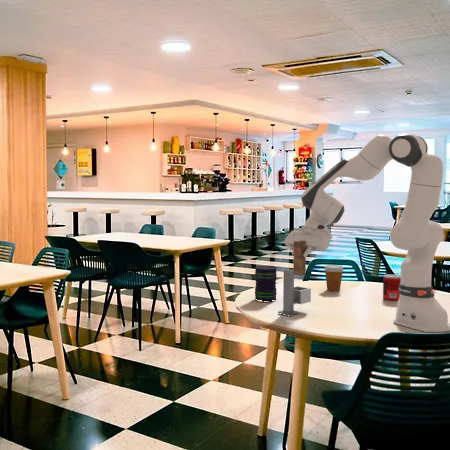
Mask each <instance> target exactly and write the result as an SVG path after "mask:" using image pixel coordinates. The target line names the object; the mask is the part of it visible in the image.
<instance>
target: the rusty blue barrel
mask: <svg viewBox="0 0 450 450" xmlns="http://www.w3.org/2000/svg"><path fill="white" fill-rule="evenodd" d="M254 270H255V271H254V279H255V287H254V297H255V298H254V300H255V299H257V300H262V301H272V300H276V301H277V267H276V266H274V265H273V266H272V265H257V266H255V267H254Z"/></svg>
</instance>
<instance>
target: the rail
mask: <svg viewBox="0 0 450 450" xmlns="http://www.w3.org/2000/svg"><path fill="white" fill-rule="evenodd" d="M305 251H306V241H302V240H297V241H294V253H293V255H292V256H293V257H292V258H293V259H292V260H293V264H292V265H293V267H292V268H293V269H292V270H294V276H300V277H301V276H306V273H307V272H306V270H307V269H306V264H307V263H306V262H307V261H306V260H307V257H303V256H302V253H303V252H305Z"/></svg>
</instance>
